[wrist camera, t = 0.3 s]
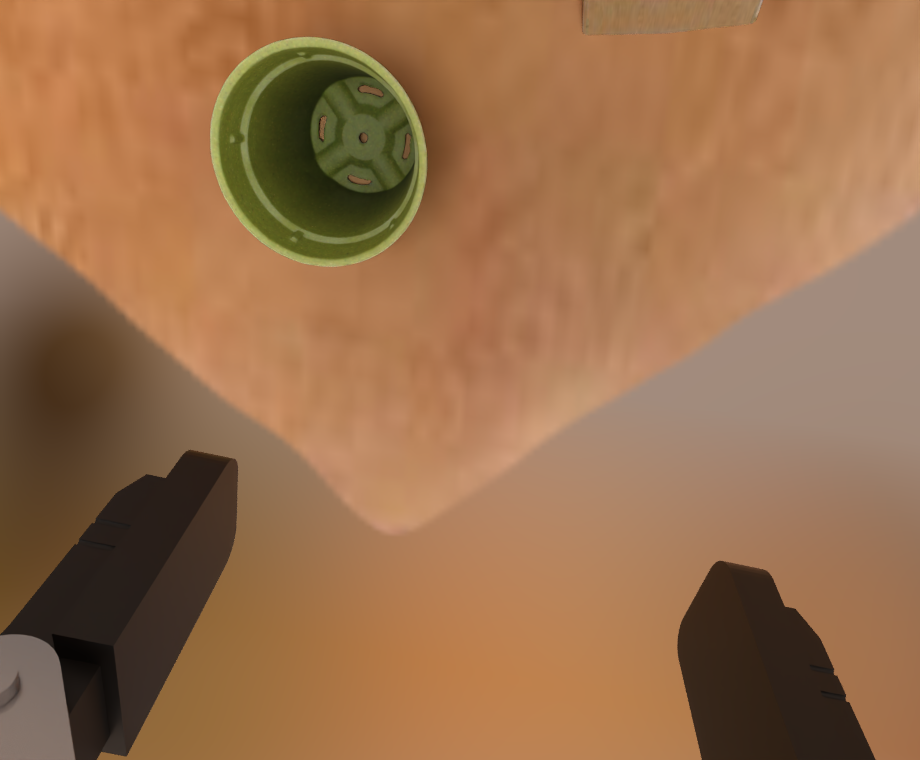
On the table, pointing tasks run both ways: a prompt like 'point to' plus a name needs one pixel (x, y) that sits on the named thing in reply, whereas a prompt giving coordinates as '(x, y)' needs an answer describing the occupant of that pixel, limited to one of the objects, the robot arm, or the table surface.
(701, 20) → the sandwich container
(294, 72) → the plant pot
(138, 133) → the table surface
